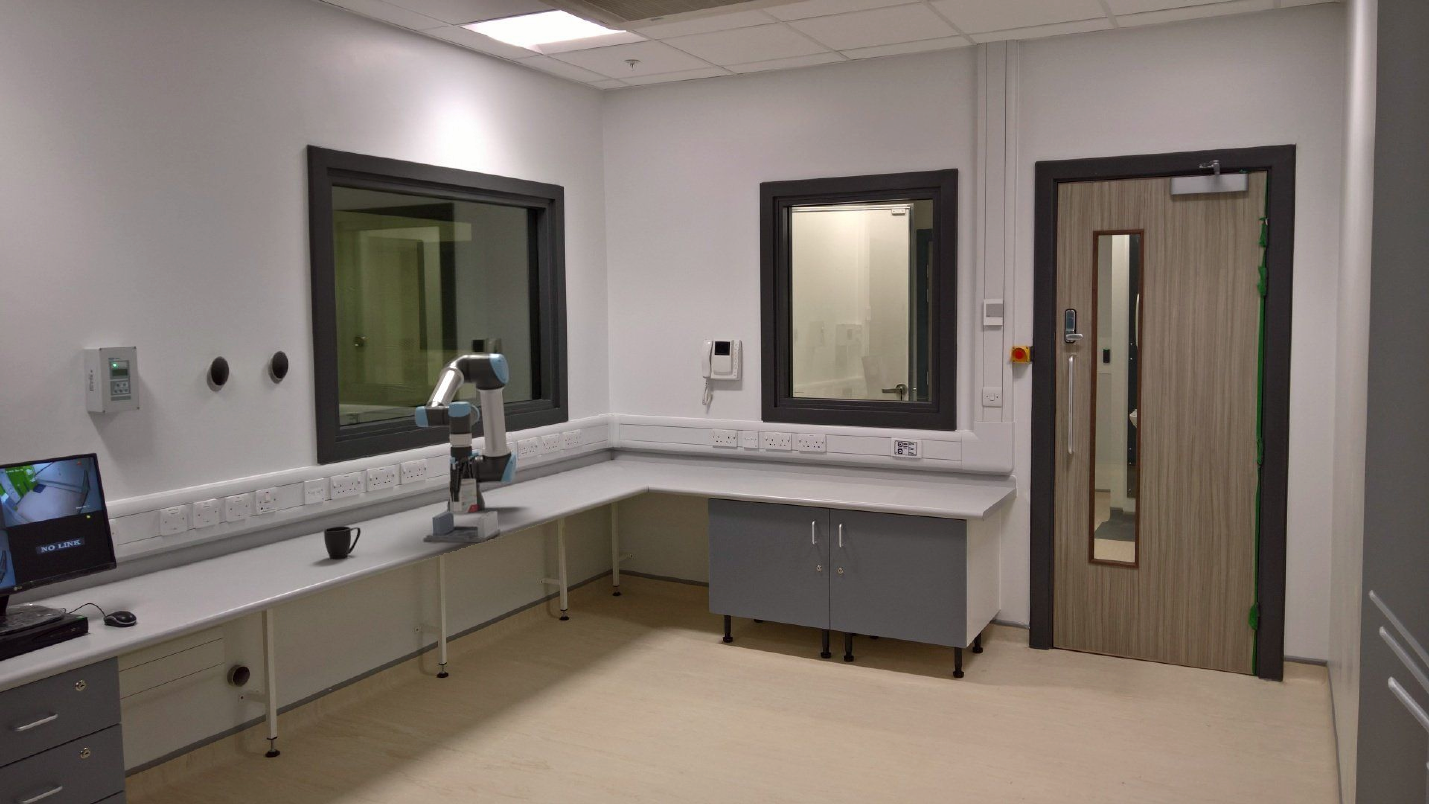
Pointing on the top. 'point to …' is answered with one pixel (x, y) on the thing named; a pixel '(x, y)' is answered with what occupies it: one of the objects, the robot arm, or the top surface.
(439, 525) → the block
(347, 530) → the mug
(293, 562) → the top surface
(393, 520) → the top surface
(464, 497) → the ink box
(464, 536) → the base
